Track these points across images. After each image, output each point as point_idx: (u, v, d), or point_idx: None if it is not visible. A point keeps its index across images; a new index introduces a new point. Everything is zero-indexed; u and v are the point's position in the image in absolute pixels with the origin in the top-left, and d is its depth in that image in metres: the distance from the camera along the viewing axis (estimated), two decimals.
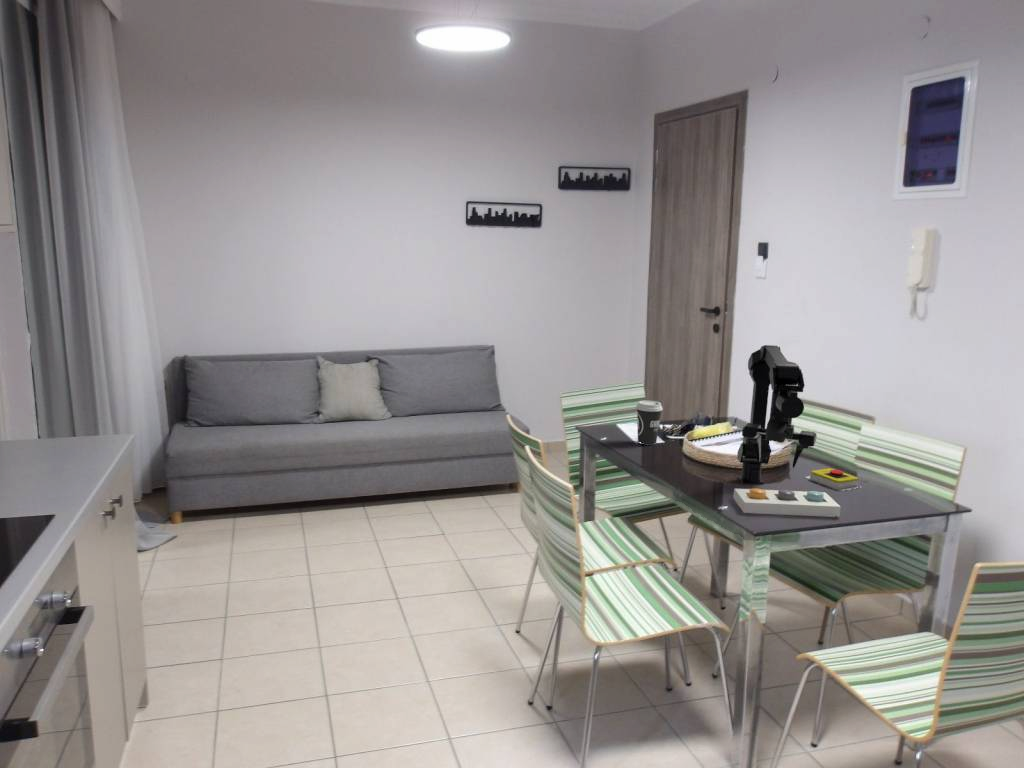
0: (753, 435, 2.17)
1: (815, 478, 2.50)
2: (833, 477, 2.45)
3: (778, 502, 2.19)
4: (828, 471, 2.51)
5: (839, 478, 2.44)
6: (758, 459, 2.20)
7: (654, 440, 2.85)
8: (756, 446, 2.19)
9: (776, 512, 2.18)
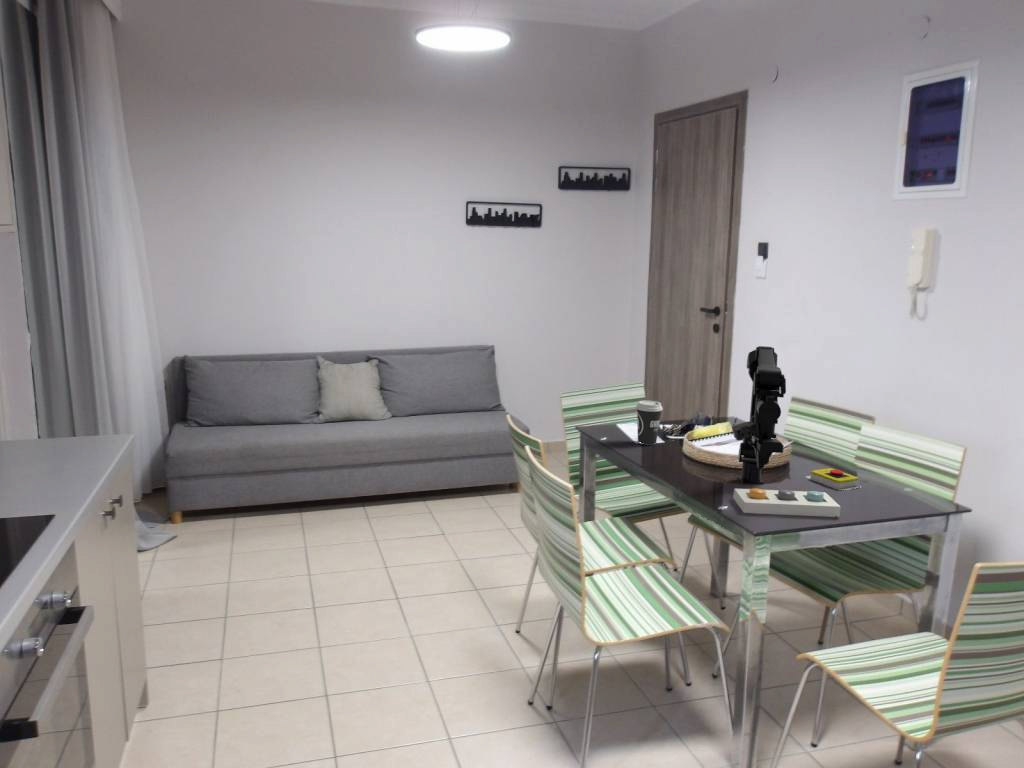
0: None
1: (815, 478, 2.50)
2: (833, 477, 2.45)
3: (778, 502, 2.19)
4: (828, 471, 2.52)
5: (839, 478, 2.45)
6: (757, 465, 2.23)
7: (654, 440, 2.85)
8: (755, 452, 2.23)
9: (776, 512, 2.18)
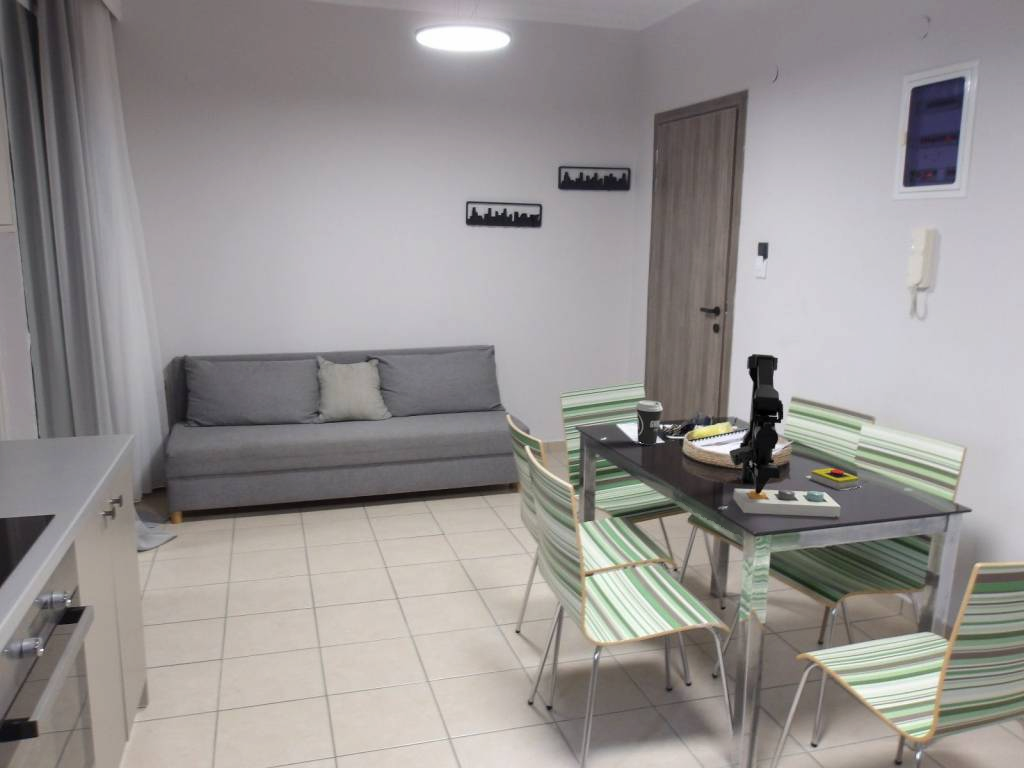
0: None
1: (815, 478, 2.50)
2: (834, 477, 2.46)
3: (778, 502, 2.19)
4: (829, 471, 2.52)
5: (840, 478, 2.45)
6: (755, 489, 2.24)
7: (654, 440, 2.85)
8: (753, 476, 2.24)
9: (776, 512, 2.18)
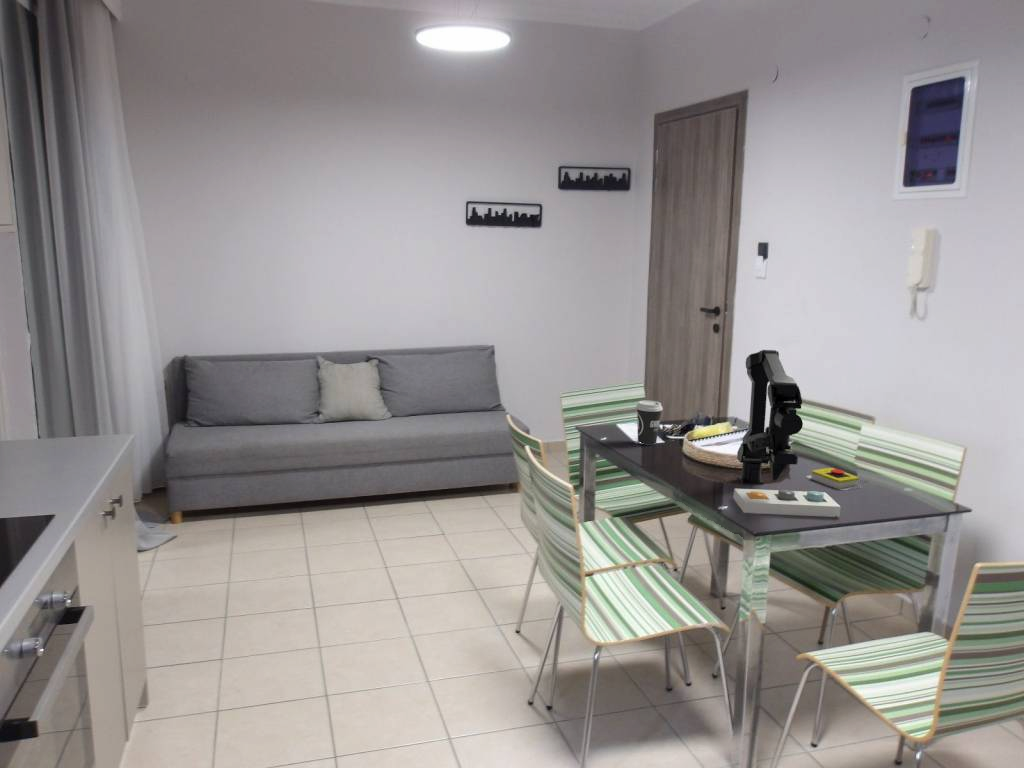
0: None
1: (816, 478, 2.50)
2: (834, 477, 2.46)
3: (778, 502, 2.19)
4: (829, 470, 2.52)
5: (840, 478, 2.45)
6: None
7: (654, 440, 2.85)
8: (770, 463, 2.23)
9: (776, 512, 2.18)
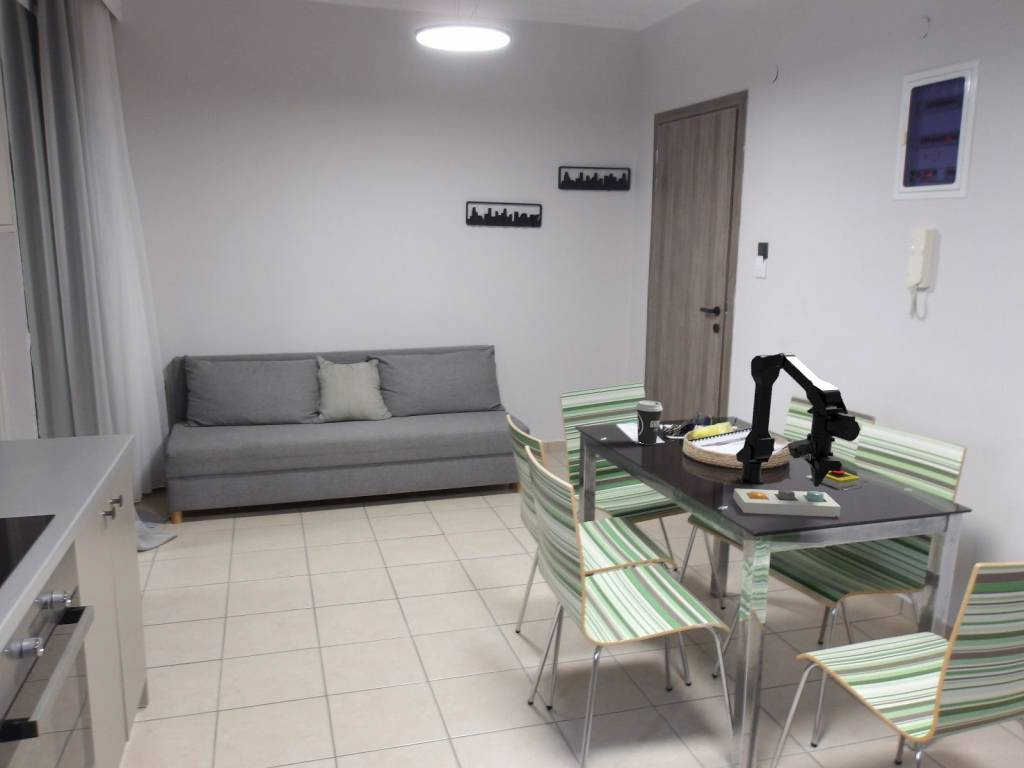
0: None
1: None
2: (834, 476, 2.46)
3: (778, 502, 2.19)
4: None
5: (840, 477, 2.45)
6: (813, 483, 2.23)
7: (654, 440, 2.85)
8: (811, 469, 2.23)
9: (776, 512, 2.18)
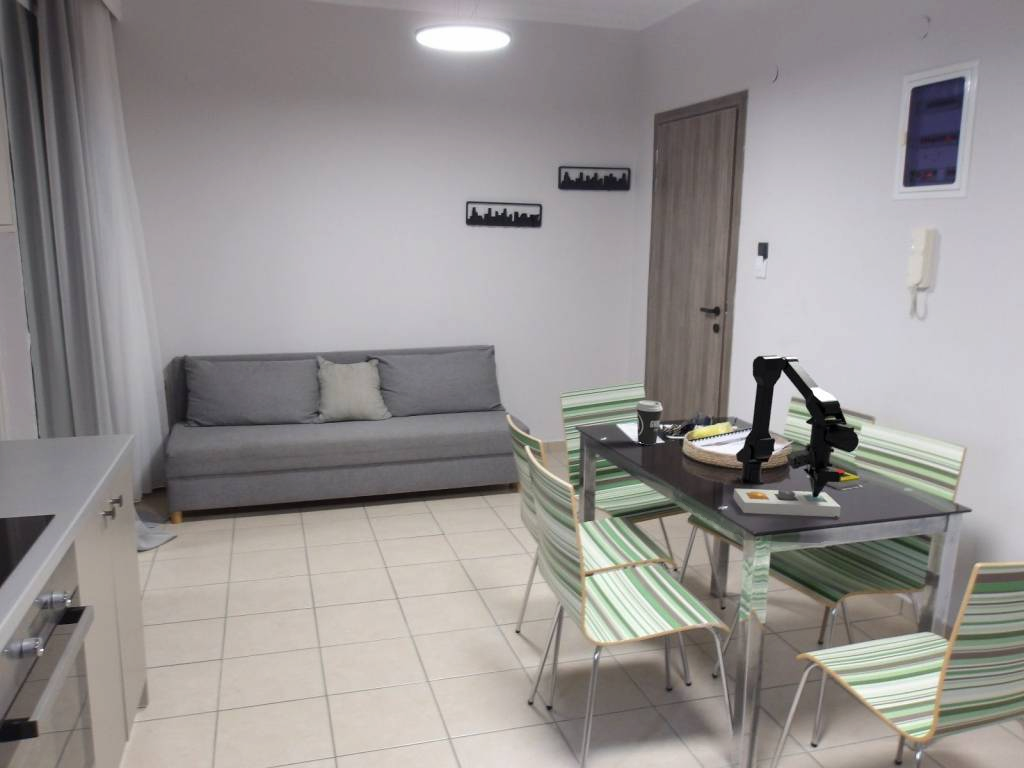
0: None
1: None
2: None
3: (778, 502, 2.19)
4: None
5: None
6: (812, 493, 2.24)
7: (654, 440, 2.85)
8: (810, 479, 2.24)
9: (776, 512, 2.18)
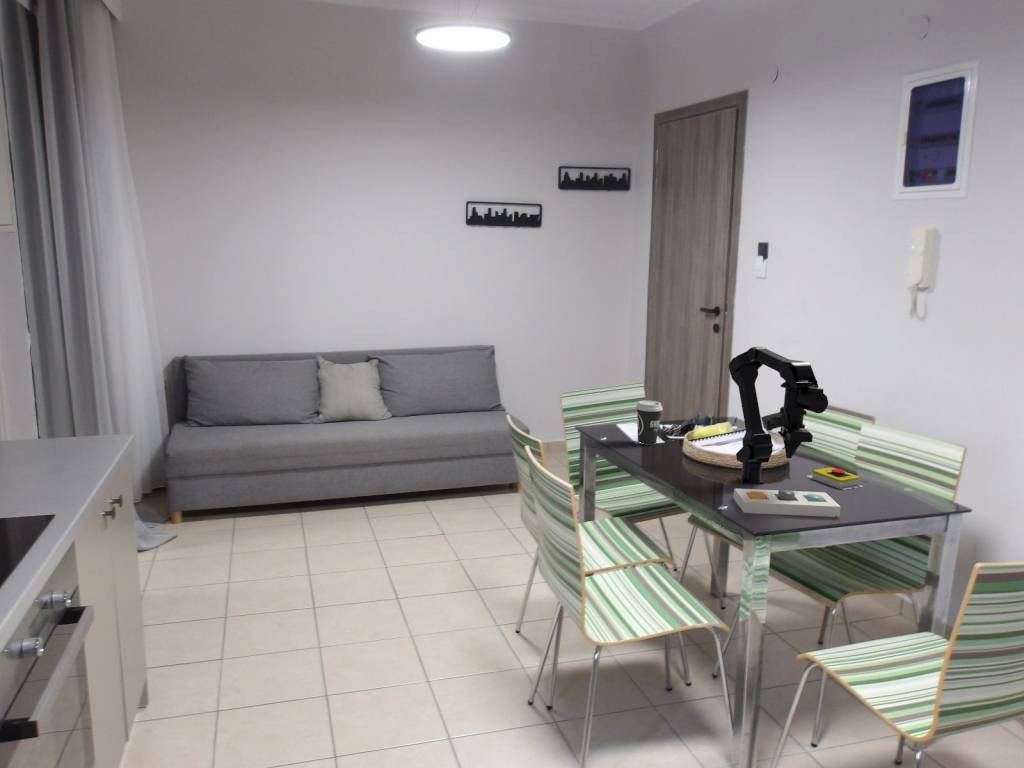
0: None
1: (817, 477, 2.51)
2: (835, 476, 2.46)
3: (778, 502, 2.19)
4: (830, 470, 2.53)
5: (841, 477, 2.46)
6: (786, 454, 2.31)
7: (654, 440, 2.85)
8: (784, 442, 2.31)
9: (776, 512, 2.18)
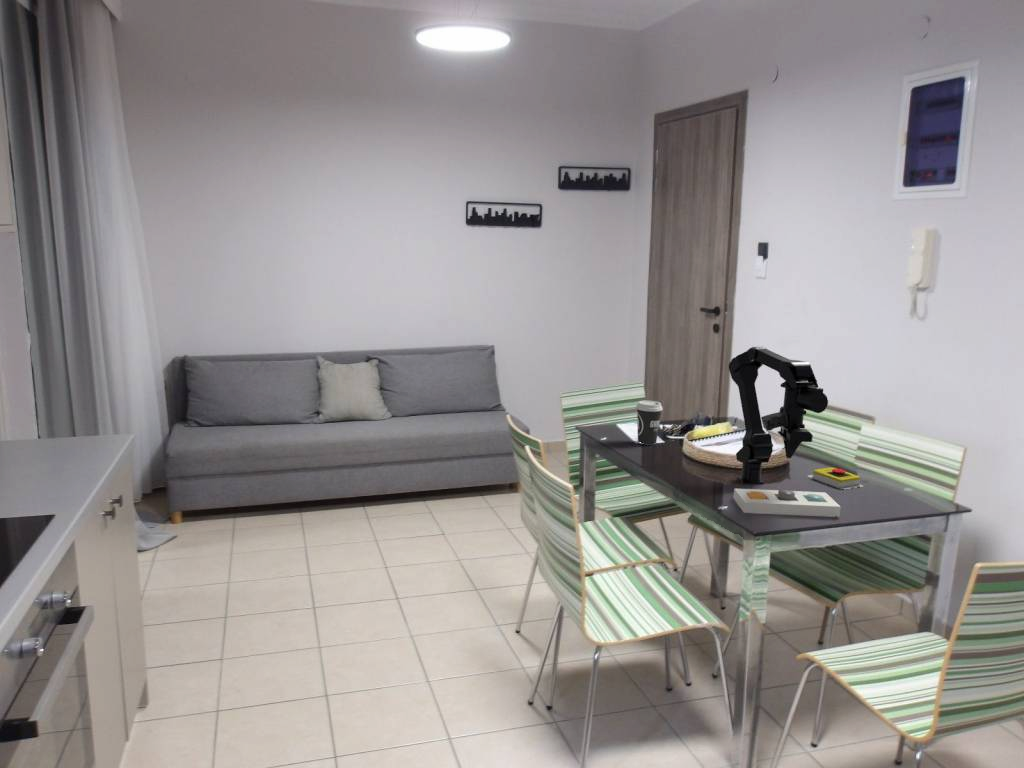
0: None
1: (817, 477, 2.51)
2: (835, 476, 2.47)
3: (778, 502, 2.19)
4: (830, 470, 2.53)
5: (841, 477, 2.46)
6: (786, 454, 2.31)
7: (654, 440, 2.85)
8: (784, 441, 2.31)
9: (776, 512, 2.18)
